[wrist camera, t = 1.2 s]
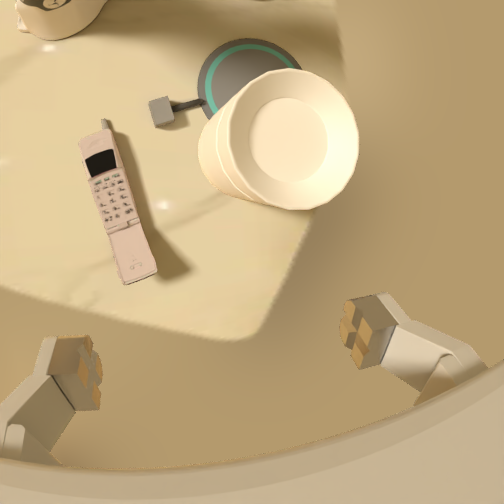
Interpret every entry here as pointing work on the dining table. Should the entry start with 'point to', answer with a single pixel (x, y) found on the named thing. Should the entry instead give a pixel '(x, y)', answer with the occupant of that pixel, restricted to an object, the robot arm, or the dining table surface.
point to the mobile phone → (116, 205)
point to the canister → (282, 142)
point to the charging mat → (226, 76)
